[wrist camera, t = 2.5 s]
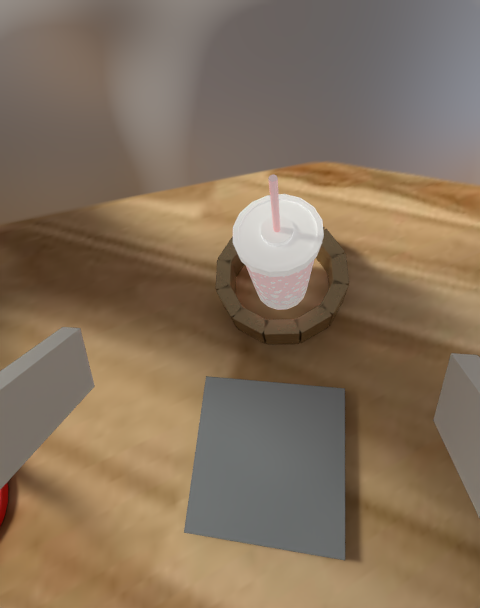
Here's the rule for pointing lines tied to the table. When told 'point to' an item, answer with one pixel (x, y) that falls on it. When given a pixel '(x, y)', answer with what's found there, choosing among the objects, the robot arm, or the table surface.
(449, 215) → the table surface
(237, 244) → the beverage cup
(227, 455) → the coaster
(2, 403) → the robot arm
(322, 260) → the stone block ring
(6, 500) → the tow hook
